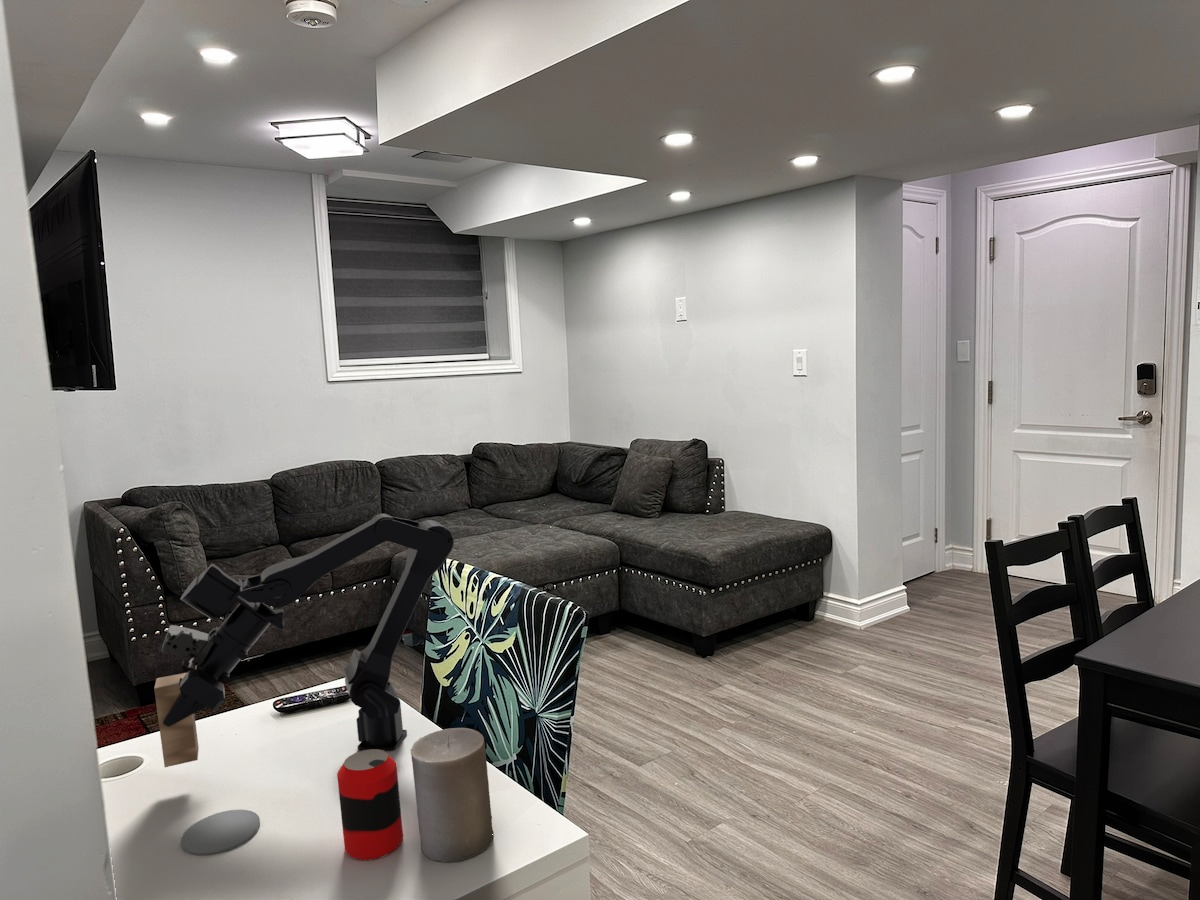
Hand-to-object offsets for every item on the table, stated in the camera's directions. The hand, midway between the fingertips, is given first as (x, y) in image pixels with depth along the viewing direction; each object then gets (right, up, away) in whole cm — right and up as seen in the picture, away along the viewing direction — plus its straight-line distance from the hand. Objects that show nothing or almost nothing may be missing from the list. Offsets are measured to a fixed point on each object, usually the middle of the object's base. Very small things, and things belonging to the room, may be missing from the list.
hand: (166, 718), depth 128 cm
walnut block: (+2, -6, +1) cm, 7 cm away
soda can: (+36, -12, -16) cm, 41 cm away
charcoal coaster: (+14, -12, -11) cm, 22 cm away
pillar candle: (+47, -11, -17) cm, 51 cm away
